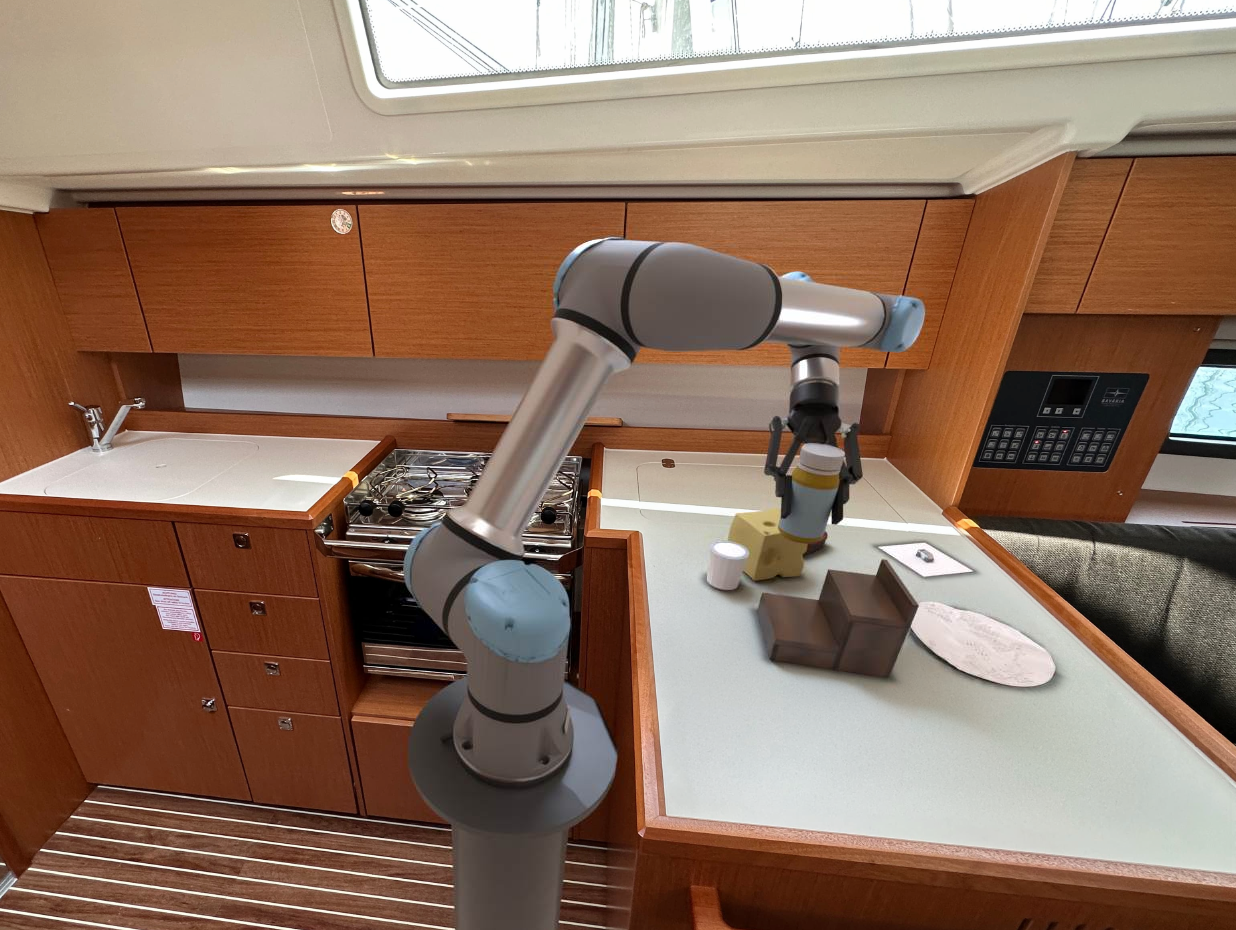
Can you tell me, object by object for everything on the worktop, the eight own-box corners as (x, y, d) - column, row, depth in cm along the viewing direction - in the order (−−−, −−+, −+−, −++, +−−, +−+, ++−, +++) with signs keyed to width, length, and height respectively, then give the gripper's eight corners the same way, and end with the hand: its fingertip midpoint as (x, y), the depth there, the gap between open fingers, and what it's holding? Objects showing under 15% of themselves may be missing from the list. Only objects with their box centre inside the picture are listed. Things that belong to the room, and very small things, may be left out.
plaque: (878, 611, 101) (881, 604, 101) (972, 603, 106) (975, 596, 105) (978, 694, 84) (983, 686, 84) (1086, 680, 88) (1091, 672, 88)
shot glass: (697, 582, 109) (703, 549, 105) (712, 568, 113) (719, 536, 110) (732, 596, 105) (740, 562, 102) (747, 581, 109) (755, 548, 106)
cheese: (801, 577, 112) (814, 530, 107) (751, 582, 109) (763, 535, 104) (768, 550, 120) (779, 506, 116) (722, 555, 118) (731, 510, 113)
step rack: (769, 659, 89) (790, 588, 83) (757, 611, 101) (774, 545, 95) (889, 677, 87) (919, 605, 81) (862, 626, 98) (887, 559, 92)
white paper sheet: (923, 576, 113) (926, 570, 113) (877, 546, 124) (880, 540, 123) (973, 571, 116) (976, 564, 115) (924, 542, 126) (927, 536, 126)
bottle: (779, 522, 102) (801, 439, 95) (823, 531, 99) (848, 447, 92) (774, 538, 96) (797, 452, 89) (820, 549, 93) (847, 461, 86)
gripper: (867, 408, 101) (868, 533, 94) (747, 398, 104) (740, 519, 97) (887, 385, 94) (890, 518, 87) (758, 375, 97) (751, 503, 90)
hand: (811, 518), depth 92 cm, fingers closed on bottle, 7 cm apart
